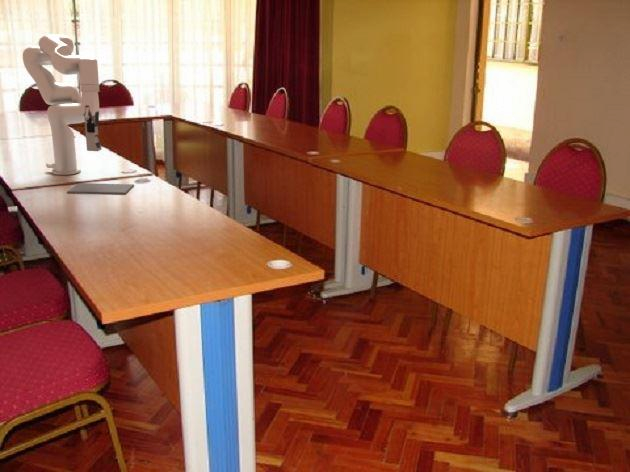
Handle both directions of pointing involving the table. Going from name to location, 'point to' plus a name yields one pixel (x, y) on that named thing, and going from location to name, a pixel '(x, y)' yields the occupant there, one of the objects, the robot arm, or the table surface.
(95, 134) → the vintage mobile phone
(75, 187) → the mat
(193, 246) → the table surface
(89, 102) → the robot arm
